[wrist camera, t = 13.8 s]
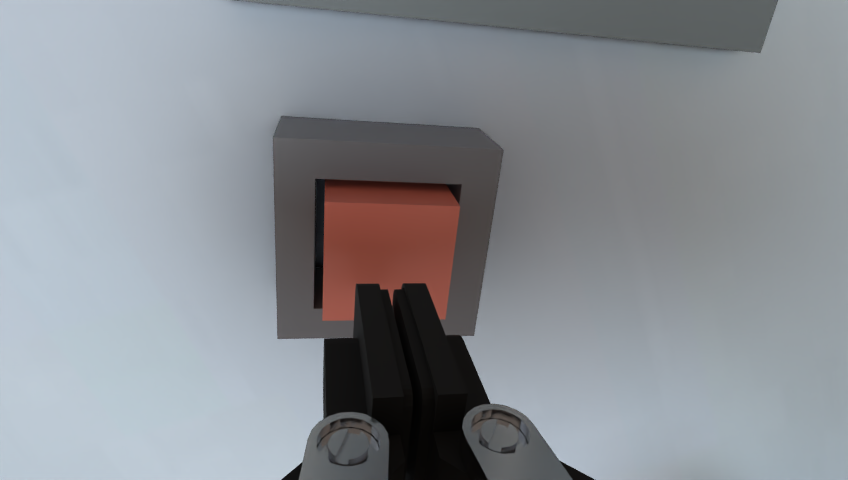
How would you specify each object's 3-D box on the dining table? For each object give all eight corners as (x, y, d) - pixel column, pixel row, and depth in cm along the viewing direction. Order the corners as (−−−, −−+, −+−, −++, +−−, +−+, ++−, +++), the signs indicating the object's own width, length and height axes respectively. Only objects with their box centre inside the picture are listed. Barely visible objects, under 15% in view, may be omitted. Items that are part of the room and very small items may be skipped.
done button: (442, 178, 18) (460, 206, 16) (430, 279, 20) (445, 319, 17) (325, 173, 17) (324, 202, 15) (323, 279, 19) (322, 320, 16)
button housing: (478, 128, 19) (503, 149, 16) (456, 294, 22) (473, 335, 19) (281, 116, 18) (272, 137, 15) (284, 294, 21) (277, 338, 18)
